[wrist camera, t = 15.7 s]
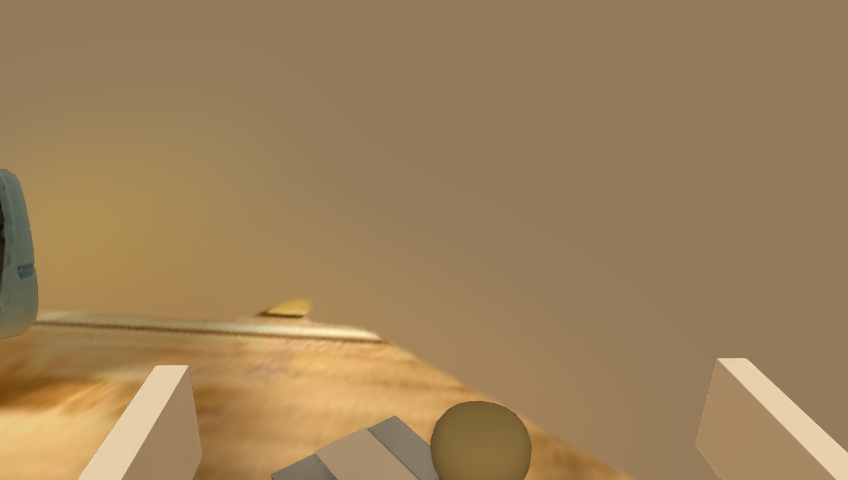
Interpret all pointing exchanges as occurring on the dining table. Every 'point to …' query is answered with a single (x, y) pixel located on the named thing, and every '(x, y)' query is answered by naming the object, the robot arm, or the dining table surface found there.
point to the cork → (480, 443)
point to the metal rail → (361, 459)
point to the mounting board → (394, 435)
